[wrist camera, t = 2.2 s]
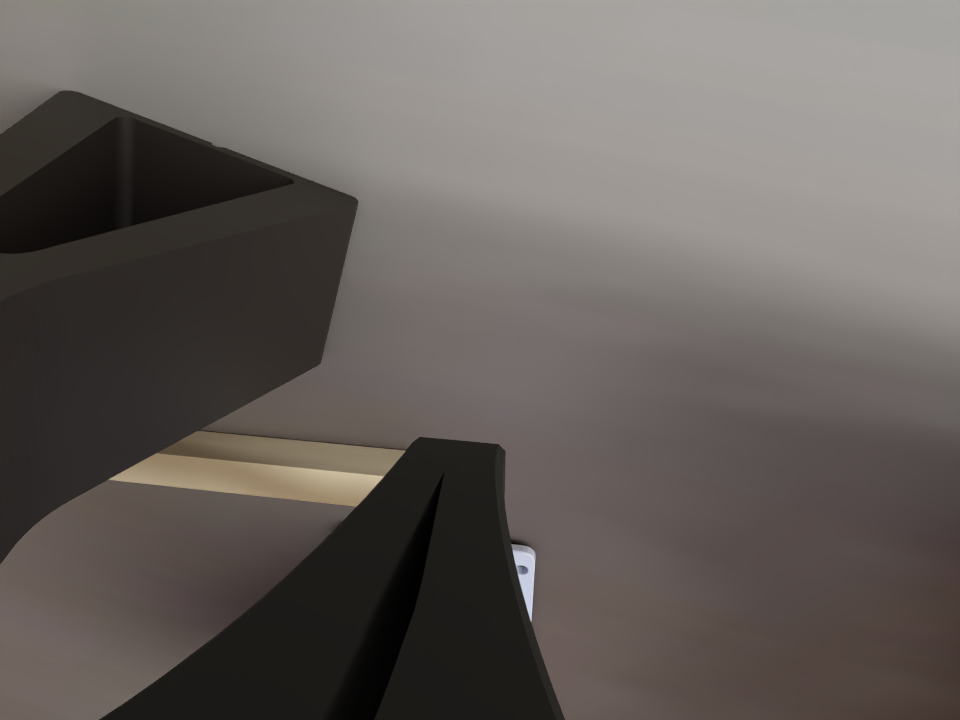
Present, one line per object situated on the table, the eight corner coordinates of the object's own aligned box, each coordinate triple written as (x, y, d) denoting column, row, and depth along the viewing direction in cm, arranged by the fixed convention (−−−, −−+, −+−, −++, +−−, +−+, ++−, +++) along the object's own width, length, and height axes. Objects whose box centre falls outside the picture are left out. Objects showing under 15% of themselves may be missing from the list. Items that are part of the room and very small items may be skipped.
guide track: (434, 485, 24) (409, 568, 20) (-69, 434, 27) (-166, 499, 23) (402, -158, 14) (342, -206, 11) (-390, -133, 17) (-636, -163, 13)
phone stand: (74, 265, 21) (-400, 520, 11) (70, 87, 18) (-597, 211, 8) (323, 359, 22) (89, 687, 11) (362, 200, 19) (88, 457, 8)
